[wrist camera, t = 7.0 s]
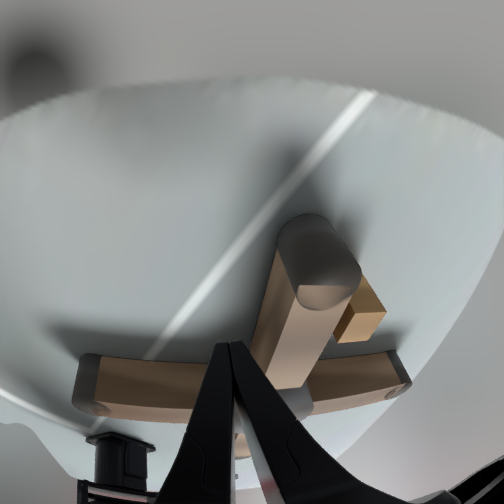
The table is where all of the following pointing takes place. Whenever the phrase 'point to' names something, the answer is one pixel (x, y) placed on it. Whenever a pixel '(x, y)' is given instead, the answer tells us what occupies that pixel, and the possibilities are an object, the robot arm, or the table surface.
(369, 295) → the stool base
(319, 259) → the folding leg
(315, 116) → the table surface
